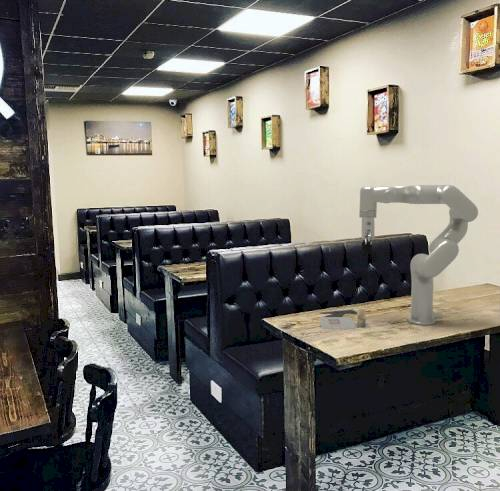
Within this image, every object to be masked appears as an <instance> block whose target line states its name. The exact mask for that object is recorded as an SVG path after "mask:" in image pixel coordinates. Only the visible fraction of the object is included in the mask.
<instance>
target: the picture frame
mask: <svg viewBox="0 0 500 491" xmlns="http://www.w3.org/2000/svg"><path fill="white" fill-rule="evenodd" d="M314 314H315V315H324V316H323V317H344V316H345V315H357V310H356V309H354V308H348V309H346V308H345V309H337V310H326V311H325V310H324V311H315V312H314Z"/></svg>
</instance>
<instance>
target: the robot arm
mask: <svg viewBox="0 0 500 491" xmlns="http://www.w3.org/2000/svg"><path fill="white" fill-rule="evenodd" d="M378 203H381V204H382V203H383V204H390V203H392V204H393V203H400V204H403V203H404V204H408V205H409V204H410V205H445V206H447V207H448V208H449V210H448V214H449V222H448V225H447V226H446V227H445V228H444V229H443V231H442V232H441V233H440V234H438V235H437V236H436V237H435V238H433V240H432V241H431V243H430V244H429V246H428V251H429V254H426V253H417V254H416V255H413V257H412V258H411V260H410V275H411V276H410V277H411V278H410V279H411V287H410V288H411V293H410V294H411V296H410V297H411V298H410V316H408V317H407V318H406V320H407V322H408V323H410V324H413V325H418V326H421V325H422V326H430V325H435V324H436V322H437V319H444V317H445V316H444V314H443V313H442V314H441V313H435V312H433V311H434V310H433V308H434V278H435V277H438V276H439V275H441V273H442V272H443V271H444V270H445V269H446V268H447V267H449V266H450V265H451V264H452V262H453V261H455V260H456V258H457V257H458V255H459V250H460V249H459V243H460V242H461V241H462V240H463V239H464V238H465V236H466V234H467V232H468V227H469V223H470V222H473V221H475V220H476V219H477V218H478V216H479V210H478V207H477V206H476V204H475V203H474V202H473V201H472V200H471V199H470V198H469V197H467V196H466V194H465V193H463V192H462V191H461V190H460V189H459V188H457V187H456V186H455V185H451V184H445V185H444V184H426V185H425V184H416V185H415V184H414V185H404V186H403V185H402V186H399V185H398V186H387V185H386V186H384V185H382V186H379V187H376V186H362V187H361V188H360V190H359V211H358V212H359V213H358V214H359V218H361V238H362V242H361V250H362V251H363V253H364V254H372V252H373V249H372V248H373V245H372V244H373V243H372V241H373V240H375V219H376V218H377V213H378V212H377V211H378V210H377V206H378Z"/></svg>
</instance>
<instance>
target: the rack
mask: <svg viewBox="0 0 500 491" xmlns="http://www.w3.org/2000/svg"><path fill="white" fill-rule="evenodd" d="M319 324H320V329H321V330H354V327H355V329H369V328H370V326H369V324H368V322H366V326H358V325H357V322H353V318H352V317H349V316H348V317H347V316H346V317H344V316H341V317H324V316H320V317H319Z"/></svg>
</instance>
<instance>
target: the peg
mask: <svg viewBox="0 0 500 491" xmlns="http://www.w3.org/2000/svg"><path fill="white" fill-rule="evenodd" d="M356 311H357V314H356V318H357V319H356V321H357V322H356V323H357V325H358V326H366V323H367V322H366V309H365V308H358V309H357V310H356Z"/></svg>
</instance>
